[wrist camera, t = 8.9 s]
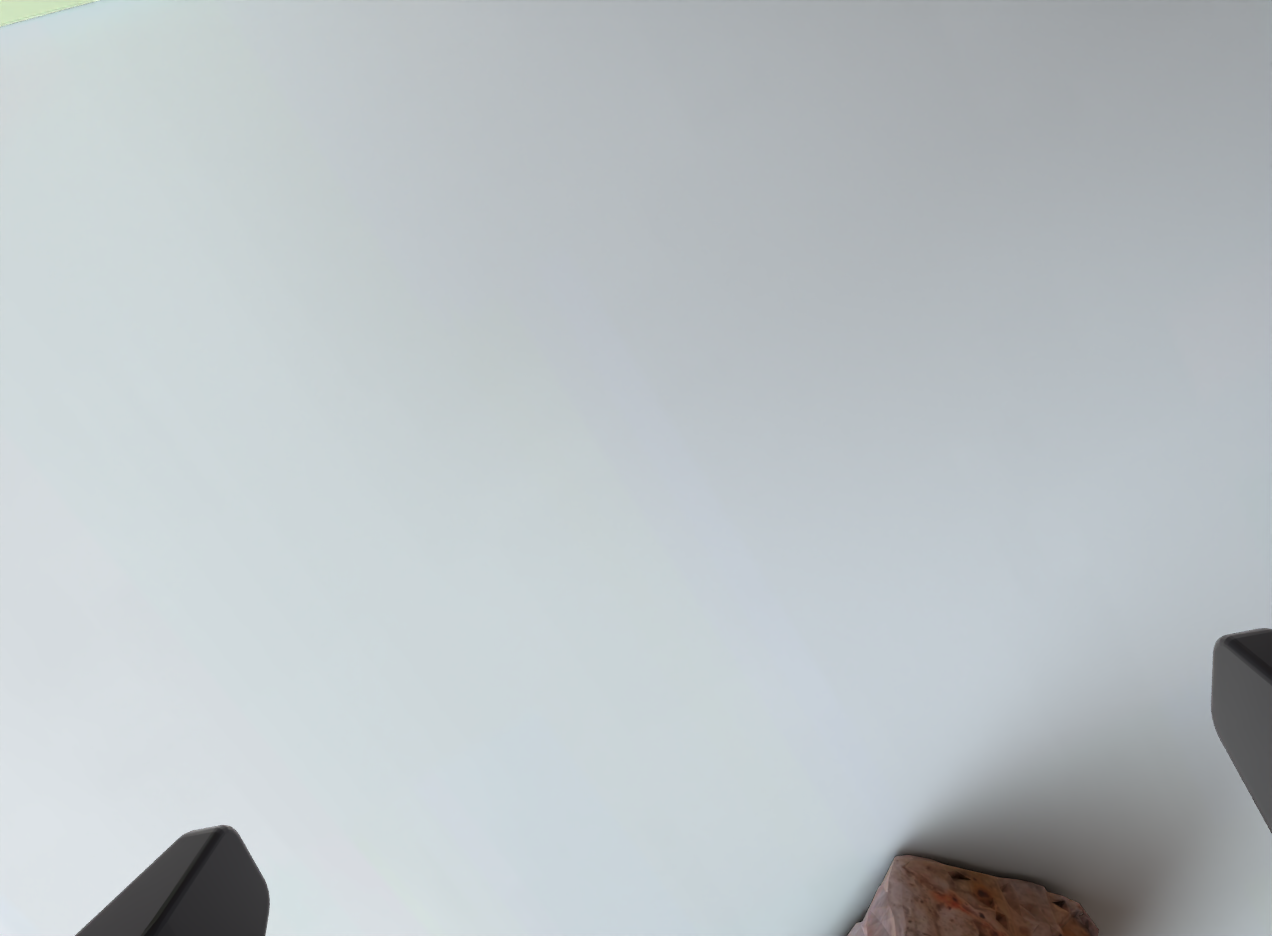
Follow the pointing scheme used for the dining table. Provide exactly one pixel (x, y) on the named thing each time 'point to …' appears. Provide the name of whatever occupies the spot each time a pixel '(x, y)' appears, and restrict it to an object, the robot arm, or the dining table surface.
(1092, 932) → the food item
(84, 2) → the pad
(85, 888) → the dining table surface
